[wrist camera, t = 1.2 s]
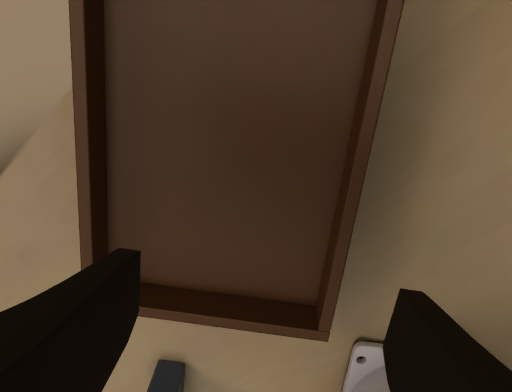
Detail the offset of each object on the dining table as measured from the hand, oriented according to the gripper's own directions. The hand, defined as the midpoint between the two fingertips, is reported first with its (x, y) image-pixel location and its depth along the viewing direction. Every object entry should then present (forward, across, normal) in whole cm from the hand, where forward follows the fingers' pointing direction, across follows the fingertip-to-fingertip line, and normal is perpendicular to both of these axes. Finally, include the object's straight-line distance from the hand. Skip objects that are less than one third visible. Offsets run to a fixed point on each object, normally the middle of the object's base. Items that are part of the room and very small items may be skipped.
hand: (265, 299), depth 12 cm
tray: (+10, +2, -1) cm, 10 cm away
